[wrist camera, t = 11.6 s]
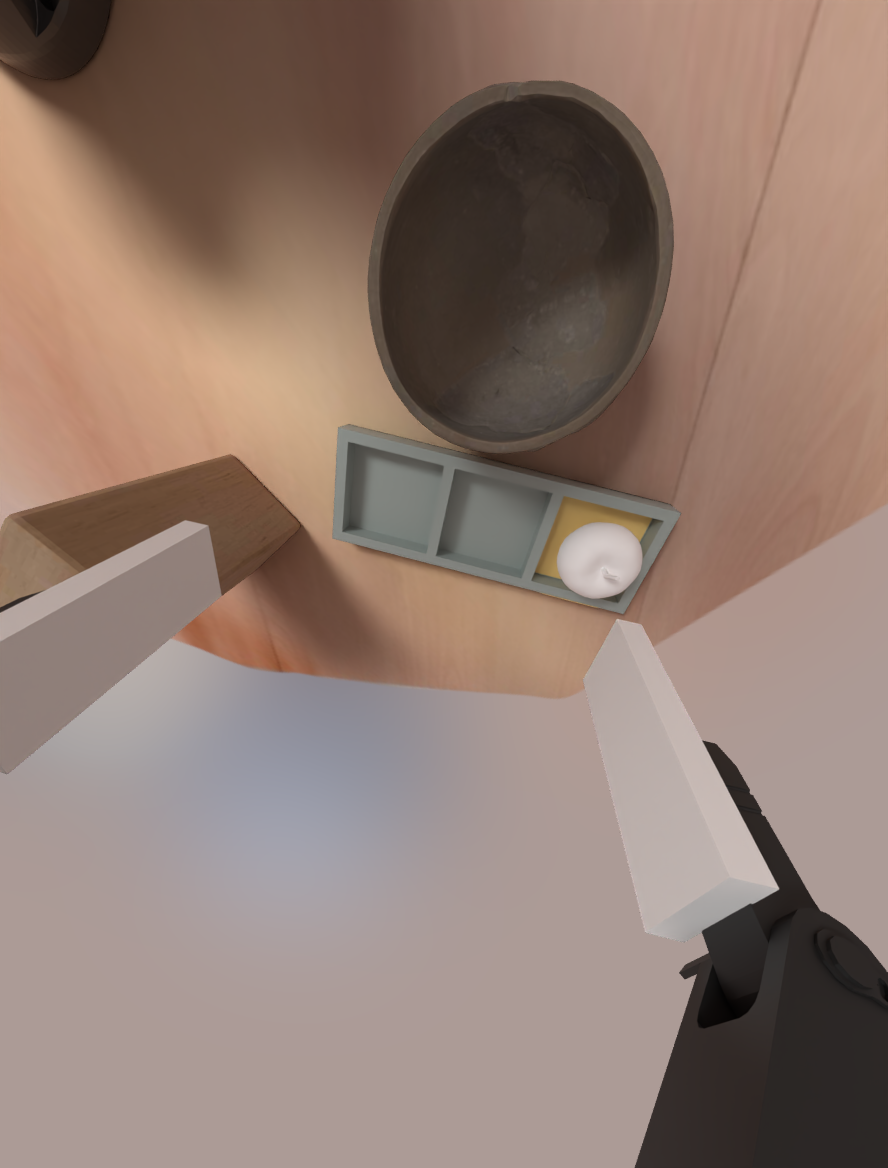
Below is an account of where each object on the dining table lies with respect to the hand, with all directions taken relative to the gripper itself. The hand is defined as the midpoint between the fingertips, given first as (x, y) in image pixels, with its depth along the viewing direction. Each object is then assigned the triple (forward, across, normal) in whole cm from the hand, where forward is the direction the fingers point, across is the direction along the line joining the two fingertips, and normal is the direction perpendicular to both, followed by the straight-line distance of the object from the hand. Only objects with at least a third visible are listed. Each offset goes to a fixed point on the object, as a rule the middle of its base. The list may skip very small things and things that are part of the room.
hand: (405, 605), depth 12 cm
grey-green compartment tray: (+26, +4, -6) cm, 27 cm away
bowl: (+27, +1, +10) cm, 28 cm away
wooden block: (+26, -23, -13) cm, 38 cm away
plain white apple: (+25, +14, -6) cm, 29 cm away
